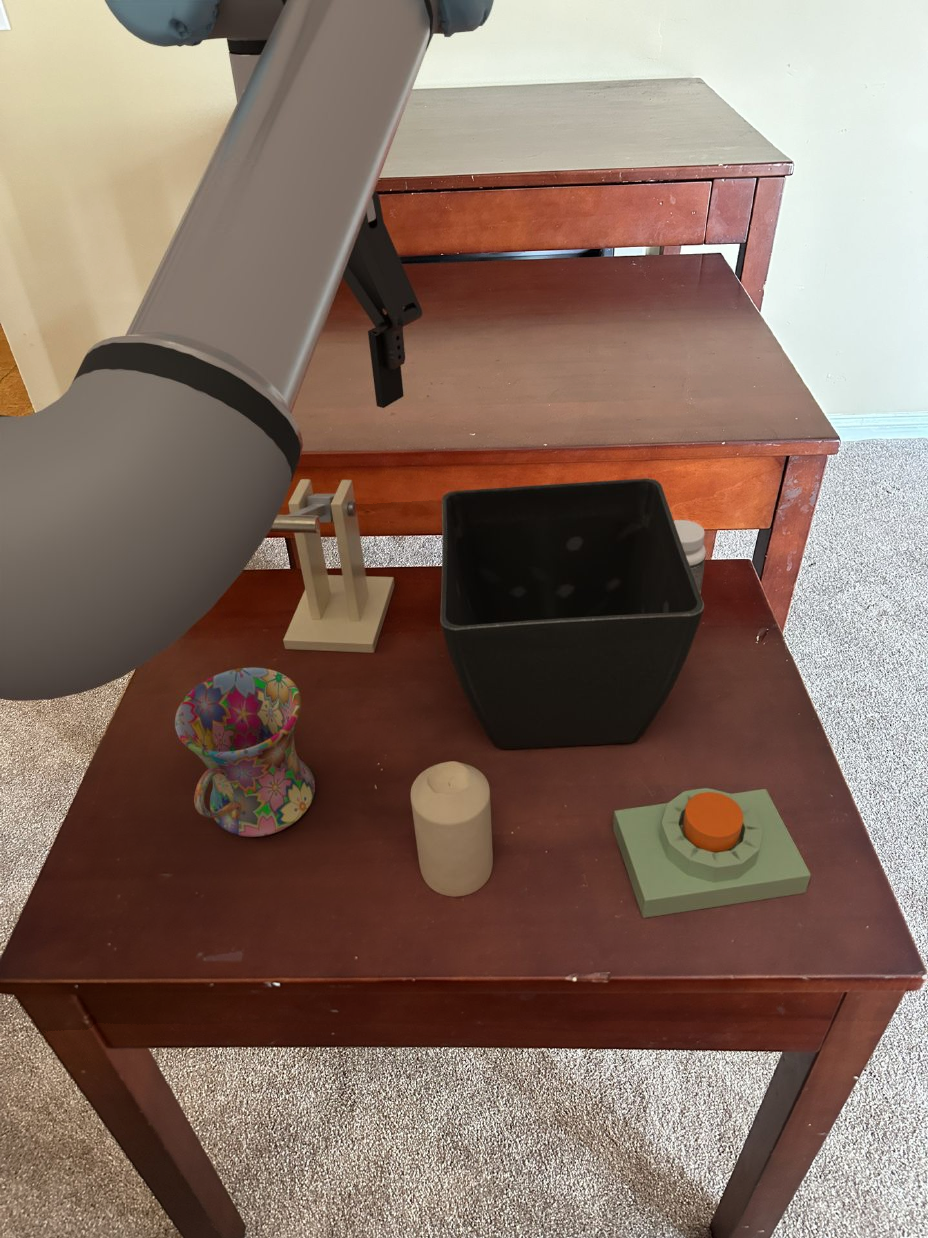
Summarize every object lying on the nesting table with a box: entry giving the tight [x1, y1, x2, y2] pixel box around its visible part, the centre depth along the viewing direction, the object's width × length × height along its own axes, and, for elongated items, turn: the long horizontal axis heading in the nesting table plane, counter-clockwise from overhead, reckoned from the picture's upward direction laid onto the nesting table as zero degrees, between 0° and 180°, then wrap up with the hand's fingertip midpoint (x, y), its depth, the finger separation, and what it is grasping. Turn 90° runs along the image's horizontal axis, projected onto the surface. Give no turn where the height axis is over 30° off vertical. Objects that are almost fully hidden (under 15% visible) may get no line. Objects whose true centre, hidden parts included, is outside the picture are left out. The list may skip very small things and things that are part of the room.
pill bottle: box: [673, 519, 707, 595], centre depth 89 cm, size 5×5×8 cm
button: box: [683, 792, 743, 852], centre depth 64 cm, size 4×4×2 cm
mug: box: [174, 667, 316, 838], centre depth 69 cm, size 12×9×11 cm
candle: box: [410, 760, 494, 898], centre depth 64 cm, size 6×6×10 cm
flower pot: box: [439, 478, 705, 751], centre depth 76 cm, size 19×19×17 cm
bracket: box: [282, 478, 395, 654], centre depth 87 cm, size 11×9×15 cm
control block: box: [612, 787, 812, 919], centre depth 66 cm, size 12×8×4 cm, turn 98°
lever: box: [269, 493, 336, 534], centre depth 79 cm, size 13×6×2 cm, turn 173°
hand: (332, 384), depth 80 cm, fingers open, 13 cm apart
